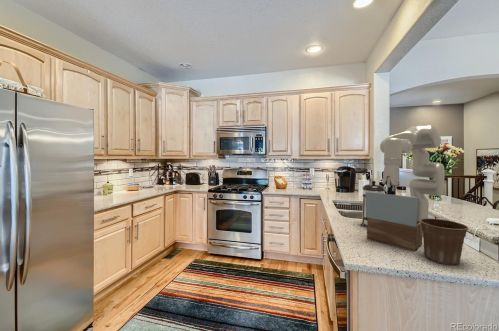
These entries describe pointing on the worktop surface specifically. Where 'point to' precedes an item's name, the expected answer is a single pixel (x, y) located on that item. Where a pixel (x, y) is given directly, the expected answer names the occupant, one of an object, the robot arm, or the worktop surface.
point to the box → (395, 234)
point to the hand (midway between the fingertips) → (391, 198)
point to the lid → (392, 208)
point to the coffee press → (366, 188)
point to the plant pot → (443, 240)
